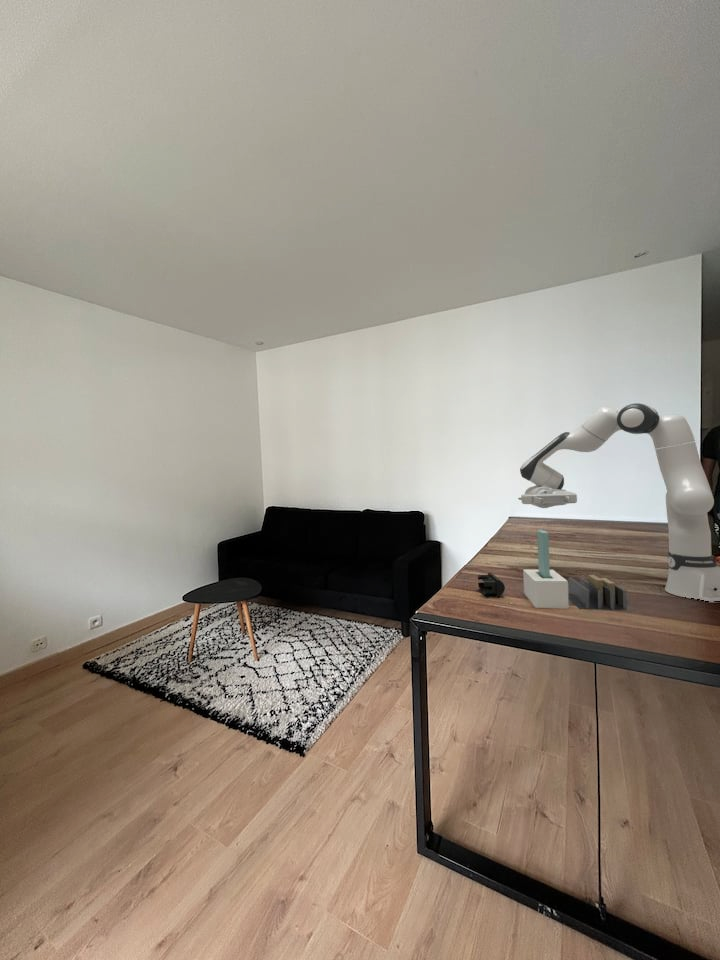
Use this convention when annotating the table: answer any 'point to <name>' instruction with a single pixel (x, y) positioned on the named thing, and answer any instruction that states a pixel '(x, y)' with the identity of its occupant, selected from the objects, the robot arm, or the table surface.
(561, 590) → the holder
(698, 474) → the robot arm
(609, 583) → the offcut small
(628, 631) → the table surface
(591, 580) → the offcut tall
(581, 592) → the rack
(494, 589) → the end cap
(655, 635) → the table surface
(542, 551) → the tall sheet
